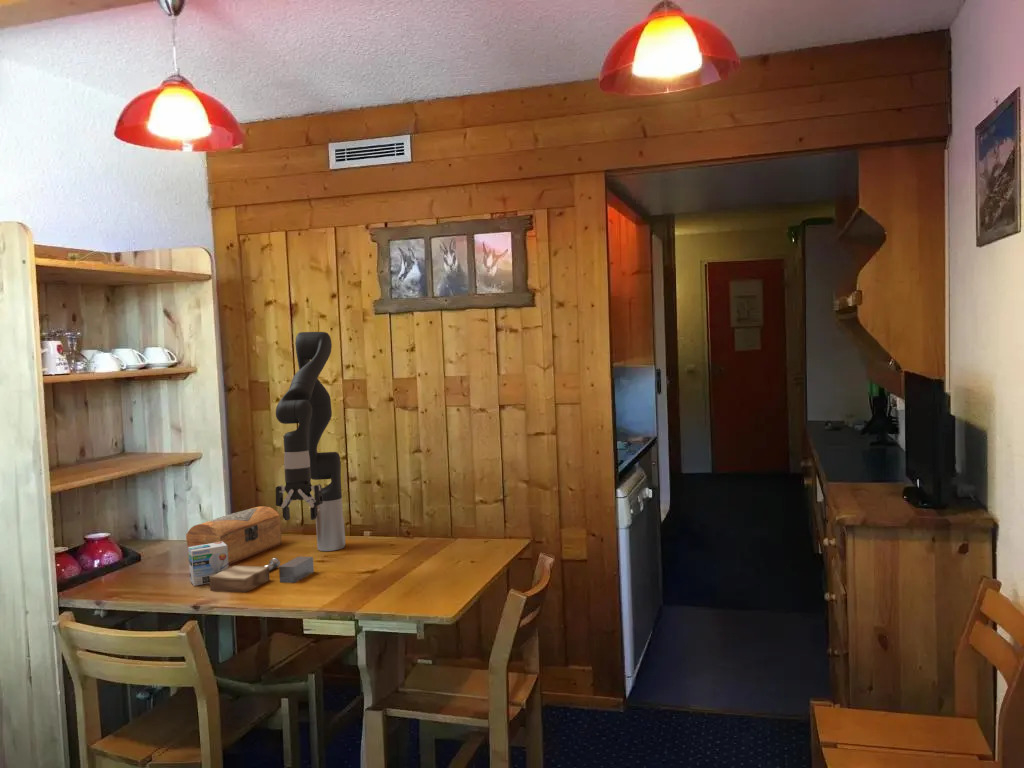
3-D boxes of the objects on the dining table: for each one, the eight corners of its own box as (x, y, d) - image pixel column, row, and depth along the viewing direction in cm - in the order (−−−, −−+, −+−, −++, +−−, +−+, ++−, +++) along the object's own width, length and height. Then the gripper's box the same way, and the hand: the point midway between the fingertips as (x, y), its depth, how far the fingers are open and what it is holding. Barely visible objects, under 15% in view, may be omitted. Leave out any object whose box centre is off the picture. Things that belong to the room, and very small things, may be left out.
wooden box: (225, 567, 263) (222, 525, 262) (186, 564, 270) (183, 523, 269) (286, 544, 290) (283, 506, 290) (250, 542, 297) (247, 504, 296)
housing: (299, 572, 254) (298, 556, 253) (313, 572, 252) (312, 556, 252) (279, 582, 243) (278, 566, 243) (294, 583, 242) (293, 567, 241)
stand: (235, 578, 249) (234, 565, 249) (269, 579, 246) (268, 566, 246) (210, 590, 238) (209, 577, 238) (245, 592, 234) (244, 578, 234)
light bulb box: (193, 586, 243) (191, 551, 242) (189, 581, 248) (186, 546, 248) (230, 579, 248) (228, 544, 248) (225, 574, 254) (223, 540, 254)
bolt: (271, 567, 260) (270, 557, 260) (280, 567, 259) (279, 557, 259) (260, 572, 254) (259, 562, 254) (269, 573, 253) (268, 563, 253)
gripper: (324, 464, 248) (327, 517, 248) (281, 465, 251) (284, 517, 251) (313, 467, 240) (316, 521, 241) (269, 468, 243) (272, 522, 244)
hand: (300, 519), depth 246 cm, fingers open, 8 cm apart
